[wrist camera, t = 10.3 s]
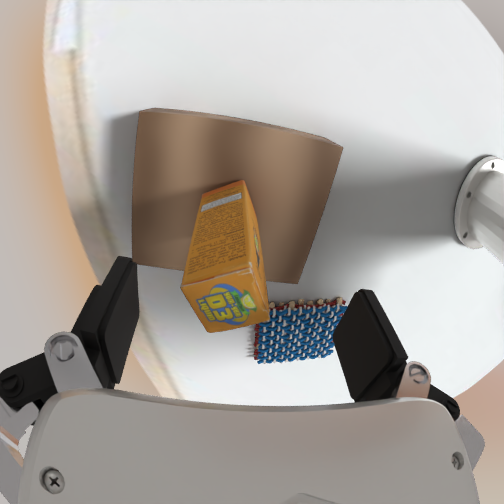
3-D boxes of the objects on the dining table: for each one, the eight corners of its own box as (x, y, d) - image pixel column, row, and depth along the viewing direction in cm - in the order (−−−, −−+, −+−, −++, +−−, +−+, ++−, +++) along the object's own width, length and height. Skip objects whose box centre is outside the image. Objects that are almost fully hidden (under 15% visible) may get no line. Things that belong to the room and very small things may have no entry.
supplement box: (196, 193, 19) (174, 285, 11) (244, 177, 19) (260, 260, 10) (213, 233, 21) (207, 338, 12) (257, 219, 20) (280, 319, 12)
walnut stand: (325, 137, 21) (343, 147, 18) (288, 258, 27) (297, 284, 24) (154, 107, 19) (139, 111, 15) (143, 239, 25) (132, 263, 22)
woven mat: (253, 298, 30) (255, 311, 29) (344, 292, 31) (350, 303, 30) (252, 355, 36) (253, 367, 34) (327, 348, 37) (331, 359, 35)
